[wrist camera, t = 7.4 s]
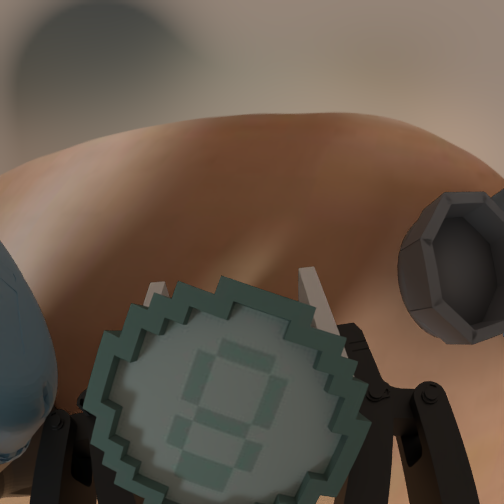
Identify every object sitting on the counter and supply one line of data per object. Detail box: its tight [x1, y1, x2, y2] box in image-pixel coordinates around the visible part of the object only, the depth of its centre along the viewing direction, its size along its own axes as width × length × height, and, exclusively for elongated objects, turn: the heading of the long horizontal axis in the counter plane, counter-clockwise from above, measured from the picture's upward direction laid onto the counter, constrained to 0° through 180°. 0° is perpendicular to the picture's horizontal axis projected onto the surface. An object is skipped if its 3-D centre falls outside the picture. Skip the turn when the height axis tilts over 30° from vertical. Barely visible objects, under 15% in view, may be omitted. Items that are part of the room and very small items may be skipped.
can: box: [83, 276, 372, 504], centre depth 13 cm, size 6×6×15 cm
